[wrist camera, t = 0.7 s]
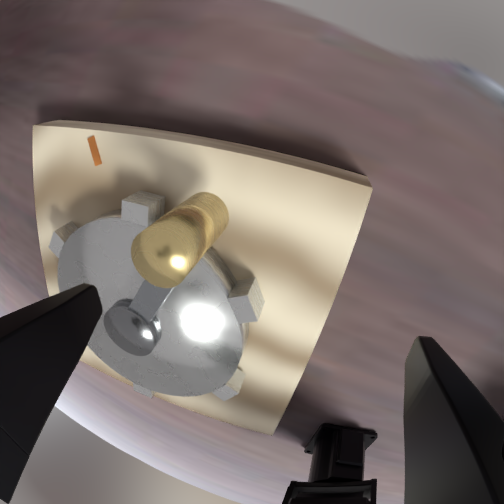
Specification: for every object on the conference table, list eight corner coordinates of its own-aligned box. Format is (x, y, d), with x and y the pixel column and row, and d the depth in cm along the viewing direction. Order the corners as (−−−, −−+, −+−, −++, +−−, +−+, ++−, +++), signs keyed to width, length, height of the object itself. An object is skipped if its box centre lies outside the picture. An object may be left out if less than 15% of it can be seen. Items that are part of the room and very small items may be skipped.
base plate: (277, 412, 29) (271, 436, 27) (78, 335, 32) (63, 351, 30) (366, 176, 18) (373, 188, 15) (58, 119, 21) (32, 125, 18)
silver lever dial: (235, 409, 25) (211, 475, 19) (83, 347, 27) (43, 393, 21) (290, 199, 16) (263, 260, 10) (61, 151, 19) (-17, 180, 12)
